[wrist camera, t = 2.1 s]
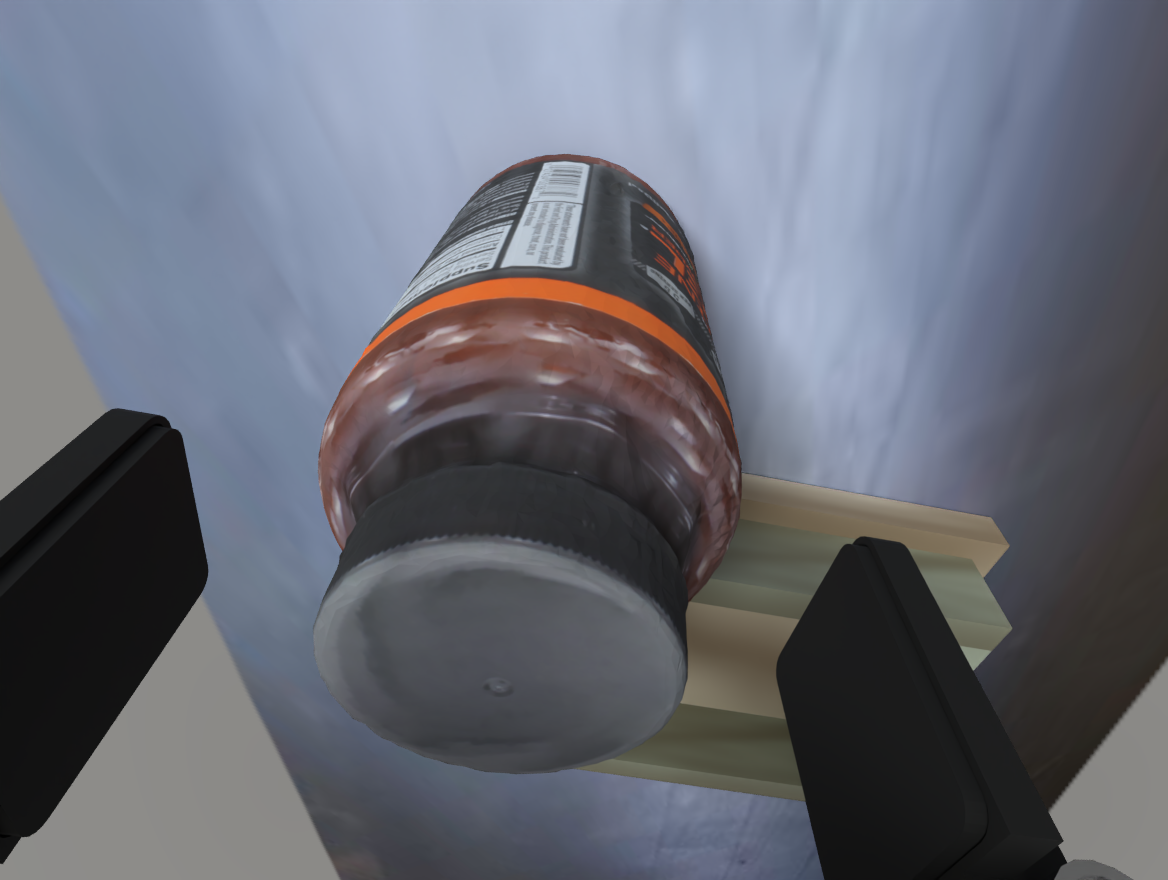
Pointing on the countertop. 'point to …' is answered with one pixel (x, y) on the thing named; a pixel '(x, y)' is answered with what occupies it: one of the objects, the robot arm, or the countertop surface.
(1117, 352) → the countertop surface
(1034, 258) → the countertop surface
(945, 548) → the socket board
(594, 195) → the supplement bottle
